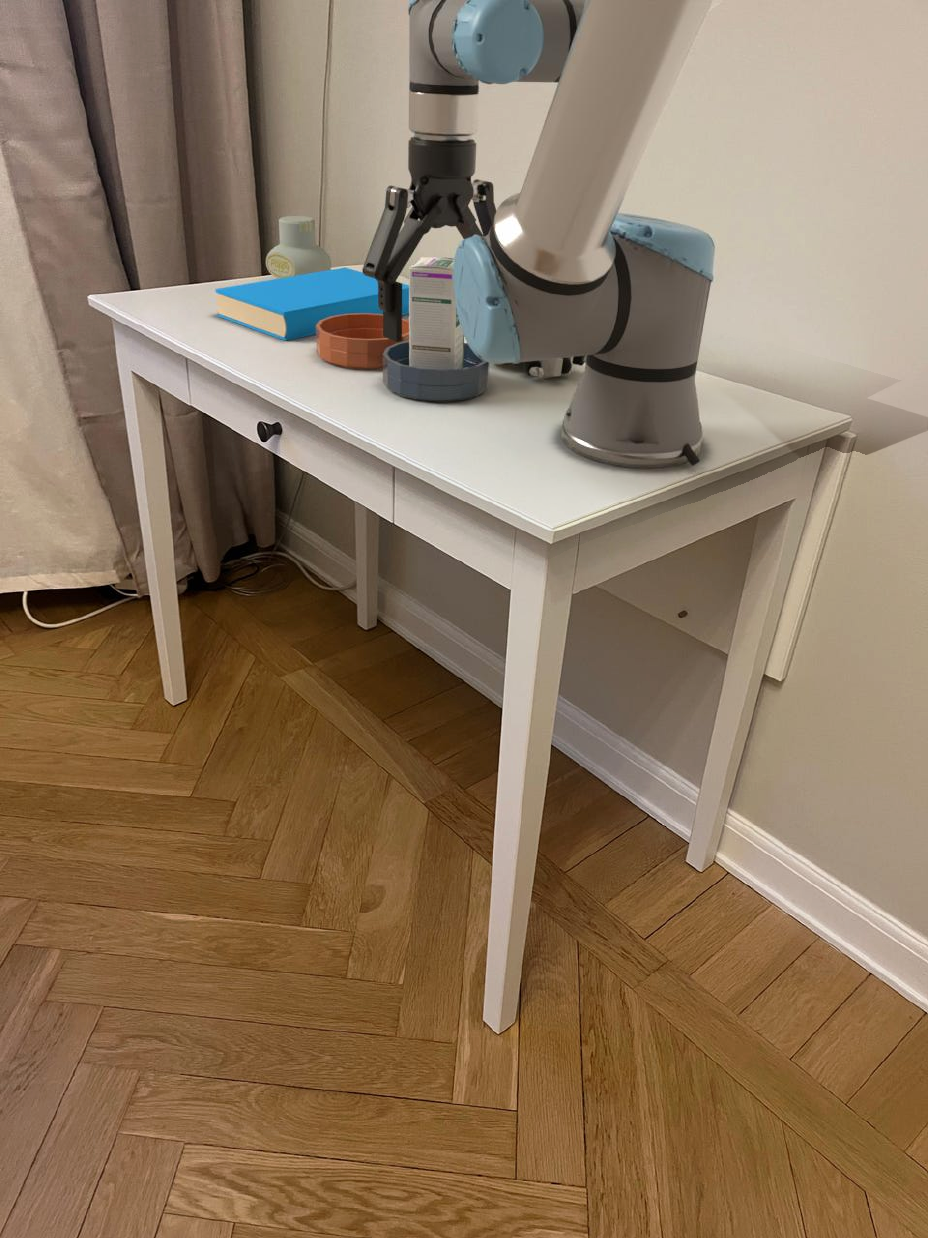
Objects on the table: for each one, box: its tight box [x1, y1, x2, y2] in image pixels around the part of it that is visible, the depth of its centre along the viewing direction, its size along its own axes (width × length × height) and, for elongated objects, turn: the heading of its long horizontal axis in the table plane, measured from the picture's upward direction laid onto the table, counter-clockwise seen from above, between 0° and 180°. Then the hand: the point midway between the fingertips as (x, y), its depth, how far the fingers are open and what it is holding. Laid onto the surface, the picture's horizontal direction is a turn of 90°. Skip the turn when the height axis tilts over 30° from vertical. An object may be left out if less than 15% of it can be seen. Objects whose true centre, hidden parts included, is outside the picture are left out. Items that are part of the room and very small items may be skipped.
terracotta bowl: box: [315, 313, 409, 370], centre depth 132 cm, size 13×13×4 cm
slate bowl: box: [382, 341, 491, 403], centre depth 122 cm, size 13×13×4 cm
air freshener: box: [265, 215, 332, 279], centre depth 165 cm, size 11×8×10 cm
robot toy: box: [492, 355, 587, 379], centre depth 130 cm, size 12×4×15 cm
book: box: [215, 267, 409, 342], centre depth 148 cm, size 17×4×25 cm
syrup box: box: [408, 256, 465, 370], centre depth 119 cm, size 6×6×14 cm
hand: (437, 330), depth 119 cm, fingers open, 13 cm apart
